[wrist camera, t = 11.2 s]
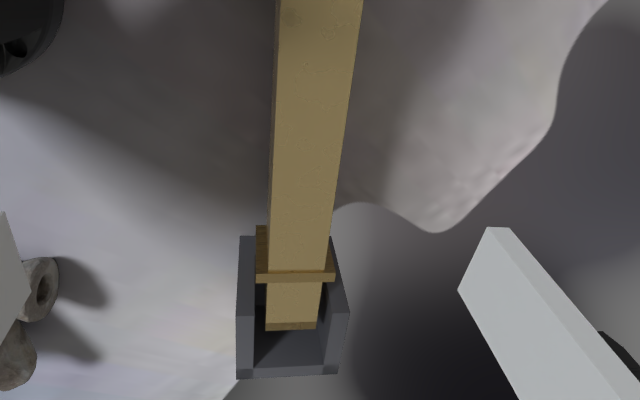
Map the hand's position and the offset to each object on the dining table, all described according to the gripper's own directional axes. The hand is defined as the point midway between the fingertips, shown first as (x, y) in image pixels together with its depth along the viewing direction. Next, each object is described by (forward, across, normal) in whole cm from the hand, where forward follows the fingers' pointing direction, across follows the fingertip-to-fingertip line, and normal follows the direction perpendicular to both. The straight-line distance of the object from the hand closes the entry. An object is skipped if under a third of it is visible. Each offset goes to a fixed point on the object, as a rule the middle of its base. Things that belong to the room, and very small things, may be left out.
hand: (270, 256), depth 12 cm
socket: (+24, +4, -23) cm, 33 cm away
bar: (+21, +4, -6) cm, 22 cm away
